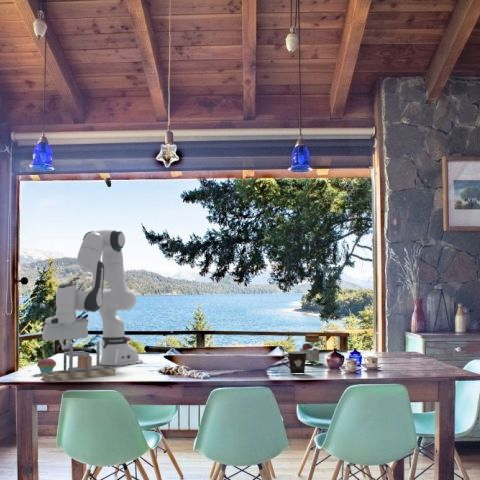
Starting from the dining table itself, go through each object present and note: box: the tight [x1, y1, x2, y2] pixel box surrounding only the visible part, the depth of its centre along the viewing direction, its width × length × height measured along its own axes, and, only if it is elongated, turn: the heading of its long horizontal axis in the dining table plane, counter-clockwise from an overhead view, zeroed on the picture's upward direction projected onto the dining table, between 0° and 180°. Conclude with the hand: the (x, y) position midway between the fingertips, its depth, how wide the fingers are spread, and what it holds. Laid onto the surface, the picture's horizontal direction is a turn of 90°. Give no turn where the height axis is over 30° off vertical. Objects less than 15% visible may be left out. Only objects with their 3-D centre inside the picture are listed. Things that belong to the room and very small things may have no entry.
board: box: [42, 365, 116, 382], centre depth 277 cm, size 31×10×3 cm, turn 123°
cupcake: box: [36, 348, 57, 375], centre depth 286 cm, size 9×8×12 cm
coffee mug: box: [279, 350, 307, 374], centre depth 283 cm, size 12×9×10 cm
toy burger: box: [299, 333, 323, 365], centre depth 313 cm, size 12×13×15 cm
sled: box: [67, 340, 102, 371], centre depth 279 cm, size 14×5×12 cm, turn 123°
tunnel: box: [63, 350, 90, 374], centre depth 277 cm, size 9×10×8 cm
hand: (65, 349), depth 274 cm, fingers closed
